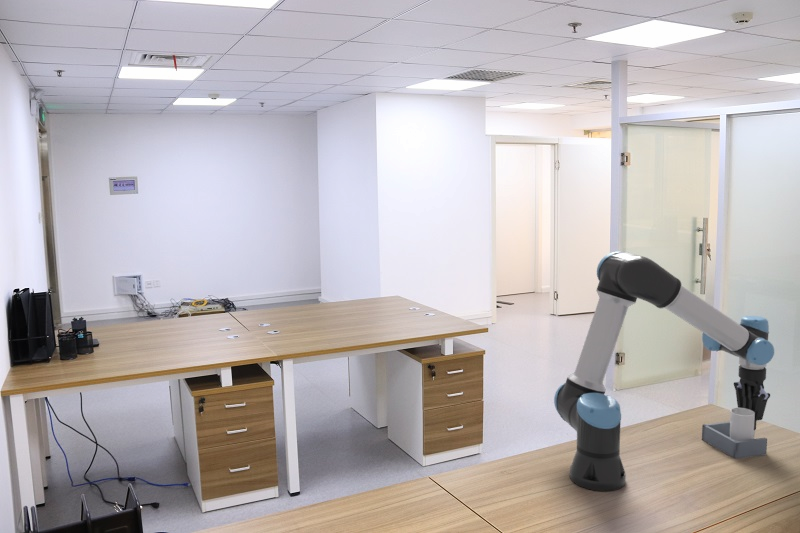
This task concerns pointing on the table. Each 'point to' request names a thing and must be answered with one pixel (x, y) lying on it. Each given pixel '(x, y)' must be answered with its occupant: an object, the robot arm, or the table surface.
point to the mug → (741, 424)
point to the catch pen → (732, 441)
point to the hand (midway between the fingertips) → (748, 438)
